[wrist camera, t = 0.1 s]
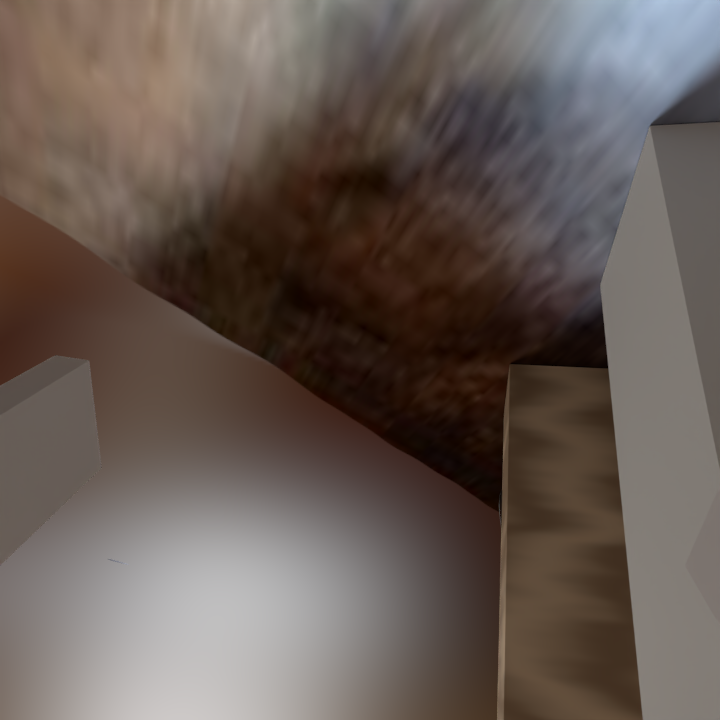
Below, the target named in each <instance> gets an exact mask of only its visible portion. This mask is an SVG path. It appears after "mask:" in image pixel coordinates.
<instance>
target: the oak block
mask: <svg viewBox="0 0 720 720" xmlns="http://www.w3.org/2000/svg"><path fill="white" fill-rule="evenodd" d="M501 531H502V532H501V574H500V617H499V664H498V706H497V720H643V716H642V706H641V696H640V686H639V675H638V665H637V655H636V645H635V634H634V624H633V614H632V604H631V594H630V583H629V573H628V563H627V553H626V542H625V532H624V522H623V512H622V502H621V491H620V481H619V471H618V461H617V450H616V440H615V430H614V420H613V410H612V399H611V389H610V379H609V369H607V368H584V367H562V366H540V365H517V364H510V367H509V376H508V384H507V393H506V401H505V410H504V440H503V485H502V529H501Z"/></svg>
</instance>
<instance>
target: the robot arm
mask: <svg viewBox="0 0 720 720" xmlns="http://www.w3.org/2000/svg"><path fill="white" fill-rule="evenodd" d="M101 468H102V467H101V459H100V451H99V442H98V433H97V425H96V416H95V408H94V399H93V392H92V382H91V374H90V366H89V360H83V359H76V358H69V357H62V356H56V355H55V356H54V357H52V358H50V359H48V360H46V361H45V362H43V363H41V364H39V365H37V366H35V367H34V368H32V369H30V370H28V371H26V372H25V373H23V374H21V375H19V376H17V377H15V378H14V379H12V380H10V381H8V382H6V383H5V384H3V385H1V386H0V565H1V564H2V563H3V562H4V561H5V560H7V559H8V557H10V556H11V555H12V554H13V553H14V552H15V551H16V550H17V549H18V548H19V547H20V546H21V545H22V544H23V543H24V542H25V541H26V540H27V539H28V538H29V537H30V536H31V535H32V534H33V533H34V532H36V531H37V530H38V529H39V528H40V527H41V526H42V525H43V524H44V523H45V522H46V521H47V520H48V519H49V518H50V517H51V516H52V515H53V514H54V513H55V512H56V511H58V510H59V509H60V508H61V507H62V506H63V505H64V504H65V503H66V502H67V501H68V500H69V499H70V498H71V497H72V496H73V495H74V494H75V493H76V492H77V491H78V490H79V489H80V488H81V487H82V486H84V485H85V484H86V482H87V481H89V479H91V478H92V477H93V476H94V475H95V474H96V473H97V472H98V471H99V470H100V469H101ZM685 567H686V569H687V571H688V572H689V574H690V576H691V578H692V579H693V581H694V583H695V584H696V586H697V588H698V589H699V591H700V593H701V595H702V596H703V598H704V600H705V601H706V603H707V605H708V606H709V608H710V610H711V612H712V613H713V615H714V617H715V618H716V620H717V622H718V624H719V625H720V487H719V489H718V491H717V494H716V496H715V498H714V500H713V503H712V505H711V507H710V509H709V512H708V514H707V516H706V518H705V521H704V523H703V525H702V528H701V530H700V532H699V534H698V537H697V539H696V541H695V543H694V546H693V548H692V550H691V552H690V555H689V557H688V559H687V561H686V564H685Z"/></svg>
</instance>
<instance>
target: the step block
mask: <svg viewBox="0 0 720 720" xmlns="http://www.w3.org/2000/svg"><path fill="white" fill-rule="evenodd" d="M600 287H601V297H602V307H603V318H604V328H605V338H606V348H607V358H608V369H609V379H610V389H611V399H612V410H613V420H614V430H615V440H616V450H617V461H618V471H619V481H620V491H621V502H622V512H623V522H624V532H625V542H626V553H627V563H628V573H629V583H630V594H631V604H632V614H633V624H634V634H635V645H636V655H637V665H638V675H639V686H640V696H641V706H642V716H643V720H720V625H719V624H718V622H717V620H716V618H715V617H714V615H713V613H712V612H711V610H710V608H709V606H708V605H707V603H706V601H705V600H704V598H703V596H702V595H701V593H700V591H699V589H698V588H697V586H696V584H695V583H694V581H693V579H692V578H691V576H690V574H689V572H688V571H687V569H686V567H685V564H686V561H687V559H688V557H689V555H690V552H691V550H692V548H693V546H694V543H695V541H696V539H697V537H698V534H699V532H700V530H701V528H702V525H703V523H704V521H705V518H706V516H707V514H708V512H709V509H710V507H711V505H712V503H713V500H714V498H715V496H716V494H717V491H718V489H719V487H720V122H710V123H692V124H674V125H655V126H650V127H649V130H648V133H647V136H646V140H645V143H644V146H643V149H642V152H641V156H640V159H639V162H638V165H637V169H636V172H635V175H634V178H633V181H632V185H631V188H630V191H629V194H628V197H627V201H626V204H625V207H624V210H623V213H622V217H621V220H620V223H619V226H618V230H617V233H616V236H615V239H614V242H613V246H612V249H611V252H610V255H609V258H608V262H607V265H606V268H605V271H604V274H603V278H602V281H601V284H600Z"/></svg>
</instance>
